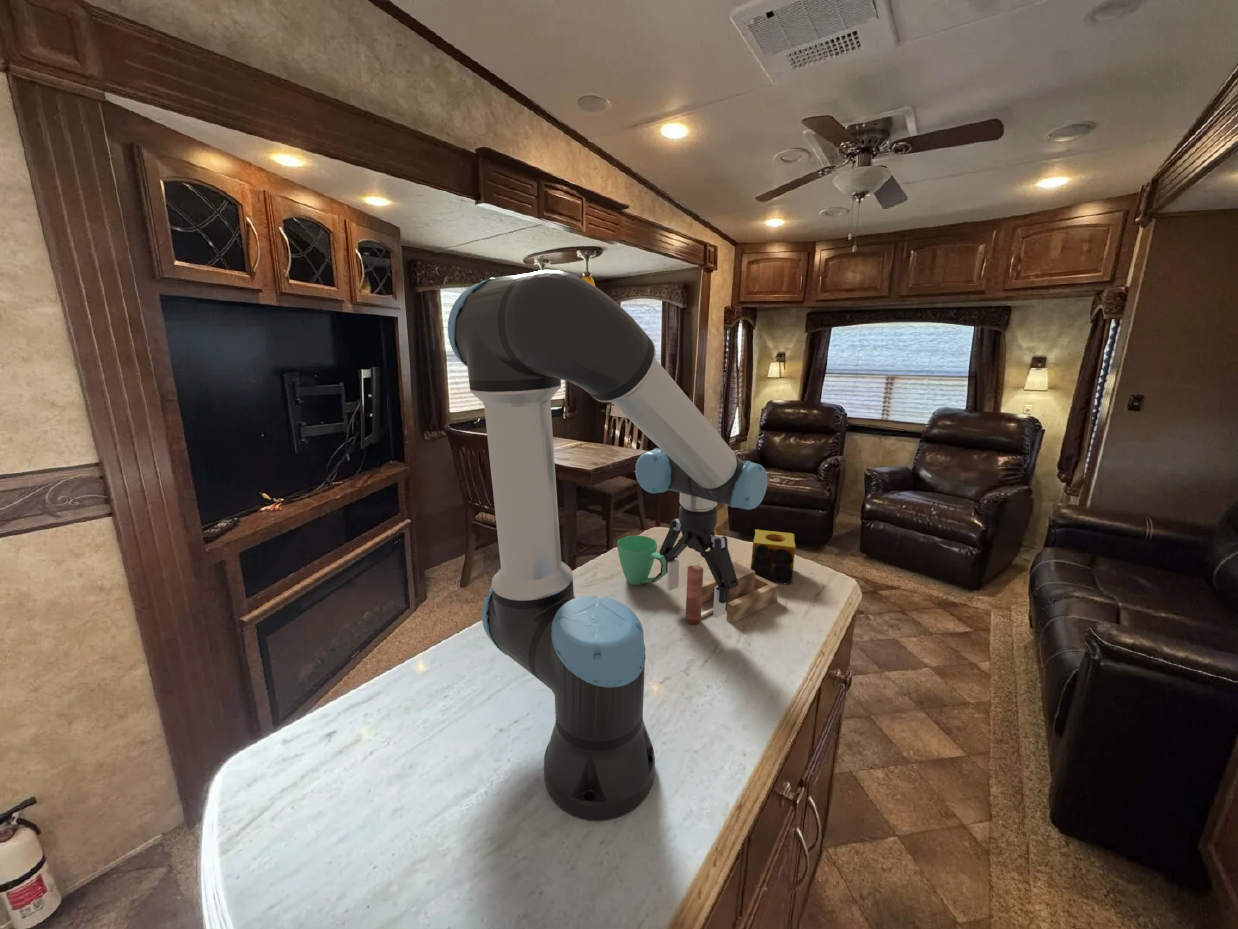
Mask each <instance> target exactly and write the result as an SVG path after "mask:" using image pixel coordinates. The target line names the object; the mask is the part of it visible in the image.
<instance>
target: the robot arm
mask: <svg viewBox="0 0 1238 929" xmlns="http://www.w3.org/2000/svg"><path fill="white" fill-rule="evenodd" d="M447 337H448V341H449V345H450V348H451V350H452V352H453V354H454V355H455V356H456V358H457V359H459V361H460V362H461V364H463V365H464V366H466V367H467V376H468V382H469V384H468V385H469V392H470V393H471V394H472V395H474V397H476V398H477V400H479V401H481V403H482V404H483V408H484V416H485V425H486V427H485V428H486V436H487V446H488V447H487V448H488V454H489V455H488V457H489V465H490V474H491V484H492V492H493V503H494V504H493V505H494V513H495V522H496V531H497V532H496V534H497V543H498V554H499V561H500V569H499V570H498V571H497V572H496V573H495V574H494V575H493V577H492V579H491V586H490V587H489V589H488V592H489V594H488V595H487V597H486V596H485V597H484V600H483V603H482V607H481V622H482V627H483V629H484V632H485V635H486V636H487V637H488V638H489V640H491V642H492V644H494V646H496V648H497V649H498V650H499V651H500V652H502V653H503V654H504V655H506V656H508V657H509V658H510V659H512V660H513V661H514V662H516V663H517V664H518V665H519V666H520V667H522V668H523V669H524V670H526V671H528V673H529V674H531V675H532V676H533V677H535V678H536V679H537V680H539V681H540V682H541V683H542V684H543V685H544V686H546V687H547V688H549V690H551V691H552V693H553V696H554V711H555V712H554V713H555V724H554V725H553V730H552V731H551V732H552V733H551V736H550V738H549V741H548V744H547V746H546V749H545V752H544V757H543V758H544V759H543V778H544V785H545V788H546V791H547V793H548V795H549V796H550V798H551V800H552V801H553V802H554V803H555V804H556V805H557V806H558V807H559V808H560V809H561V810H563V811H564V812H566V813H568V814H569V815H571V816H573V817H577V818H580V819H584V820H589V821H605V820H611V819H616V818H619V817H622V816H624V815H626V814H628V813H629V812H632V811H634V810H635V809H636V808H637V807H638V806H640V805H641V803H642V802H643V801H644V800H645V799H646V798H647V796H648V795H649V793H651V792H650V791H651V789H652V787H653V785H654V784H653V783H654V780H655V774H656V773H655V769H656V764H655V763H656V756H655V751H654V747H653V744H652V741H651V739H650V736H649V733H648V730H647V728H646V724H645V722H644V715H643V714H644V691H645V688H644V687H645V669H646V668H645V667H646V666H645V665H646V664H645V663H646V657H647V654H646V646H645V645H646V644H645V638H644V635H645V634H644V630H643V626H642V623H641V621H640V618H639V617H638V616H637V614H636V613H635V612H634V611H633V610H632V609H630V607H628V606H627V605H626V604H624V603H622V602H620V601H618V600H616V599H613V598H609V597H606V596H604V597H602V598H599V597H598V596H596V595H585V596H584V595H583V596H580V597H579V596H578V597H575V591H574V581H573V580H574V577H573V575H574V574H573V571H572V569H571V567H570V566H569V565H567V564H566V563H565V562H563V561H562V554H561V541H560V540H561V537H560V523H559V510H558V508H559V507H558V494H557V480H556V478H557V477H556V466H555V464H556V462H555V449H554V448H555V447H554V435H553V434H554V433H553V432H554V431H553V420H552V419H553V418H552V406H551V405H552V404H551V403H552V402H551V401H552V399H553V397H554V396H555V395H556V394H557V392H558V391H559V390H560V389H561V388H562V381H566V382H569V383H571V384H573V385H575V386H578V387H580V388H581V389H582V390H584V391H585V392H586V393H588V394H589V395H590V396H591V397H592V398H593V399H595V400H596V401H598V402H601V403H611V404H612V405H613V406H615V408H616V409H617V410H618V411H620V412H621V413H622V414H623V415H624V417H626V418H627V419H628V420H629V421H630V422H632V424H634V426H636V427H637V428H638V430H640V431H641V432H642V433H643V434H644V435H645V436H646V437H647V438H648V439H649V440H651V441H652V443H654V444H655V445H656V446H657V447H658V448H657V447H656V448H653V449H652V450H649V451H646V452H644V453H642V454H641V455H640V456H639V457H638V458H637V460H636V463H635V478H636V480H637V482H638V484H639V485H640V487H641V488H642V489H643V490H644V491H645V492H647V493H650V494H658V493H660V494H661V493H665V492H667V491H671V492H672V491H673V492H676V493H679V504H680V506H679V508H678V509H679V511H678V512H679V513H678V514H679V515H678V518H675V519H672V520H670V521H669V527H668V528H669V529H668V531H667V534H666V536H665V538H664V541H663V543H662V544H661V546H660V549H659V551H658V553H660V555H661V556H662V555H663V556H664V557H665V560H666V573H667V574H666V576H667V577H666V579H667V580H666V583H667V584H666V589H667V590H668V591H669V592H670V591H672V590H674V589H675V590H676V589H677V588H679V578H680V576H679V574H680V560H679V559H678V558H679V555H681V553H682V552H683V551H685V549H686V548H688V549H691V550H693V551H695V552H697V553H699V554H700V556H701V557H702V558H703V559H704V560H705V562H706V565H707V567H708V568H709V570H710V573H711V575H712V577H713V578H714V579H715V581H716V583H717V585H718V586H715V587H714V598H713V607H712V608H713V613H712V618H715V619H717V618H720V617H721V616H724V615H725V614H726V608H727V607H726V602H728V599H729V589H732V588H734V587H736V586H738V580H737V577H736V574H735V571H734V567H733V564H732V563H733V561H732V557H731V554H730V552H729V549H728V548H729V547H728V537H727V536H726V535H723V536H721V537H720V536H717V535H716V534H715V528H716V525H717V523H718V522H717V521H718V508H717V505H718V504H722V505H726V506H729V507H731V508H733V509H734V508H738V509H743V510H747V511H748V510H753V509H756V508H757V507H759V505H761V503H762V501H763V499H764V497H765V495H766V493H767V492H766V491H767V489H768V488H767V487H768V480H769V479H768V474H767V470H766V469H765V467H763V465H762V464H759V463H756V462H752V461H750V460H742V459H741V458H739V457H738V455H737V454H736V453H735V451H733V450H732V448H731V447H730V446H729V445H728V444H727V442H726V441H725V440H724V439H723V437H722V436H721V435H720V432H719V431H718V430H716V429H715V428H714V427H713V426H712V424H711V423H710V422H709V420H707V419H706V417H705V416H704V415H703V414H702V413H701V411H700V410H699V408H698V407H697V406H696V405H695V404H694V403H693V401H692V400H691V399H690V398H689V397H688V395H686V393H685V392H684V391H683V390H682V389H681V387H680V386H679V385H678V383H677V382H675V380H674V379H673V378H672V377H671V375H670V374H669V372H667V371H666V369H665V368H664V367H663V366H662V364H661V363H660V362H659V361H658V360H657V359H656V354H657V353H656V351H657V350H656V346H655V344H654V342H653V340H652V339H651V338H650V337H649V335H648V334H647V333H646V332H645V330H644V329H643V328H642V327H641V326H640V324H638V322H637V321H636V320H635V319H634V317H632V316H631V315H630V314H629V313H628V312H627V311H626V310H625V309H624V308H623V307H621V306H620V305H619V303H617V302H616V301H615V300H614V299H612V297H610V296H609V295H608V294H606V292H604V291H602V290H601V289H600V288H598V287H596V286H595V285H594V284H592V283H590V282H589V281H587V280H585V279H583V278H582V277H579V276H577V275H575V274H574V273H573V274H572V273H569V272H566V271H562V270H556V269H554V270H553V269H544V270H542V269H541V270H538V271H533V272H528V273H521V274H516V275H506V276H499V277H490V278H488V279H486V280H483V281H480V282H479V283H475V284H474V285H471V286H470V287H468V288H466V289H465V290H464V291H462V292H461V293H460V295H459V297H457V299H456V300H455V301H454V302H453V305H452V307H451V309H450V311H449V316H448V321H447ZM680 534H682V536H681V537H680V538H679V536H680ZM678 538H679V539H678ZM677 539H678V540H677ZM722 580H723V582H722Z"/></svg>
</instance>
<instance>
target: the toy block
mask: <svg viewBox="0 0 1238 929" xmlns="http://www.w3.org/2000/svg"><path fill="white" fill-rule="evenodd" d="M754 533H755V534H754V537H753V541H752V550H751V551H752V553H751V561H750V562H751V564H750V569H751V570H753V571H755V575H757V576H760V577H762V578H764V579H766V580H768V581H771V582H773V583H775V584H778V583H779V584H784V583H786V585H792V584H793V577H794V576H793V575H794V564H795V552H796V543H795V542H796V541H795V534H794V533H792V532H782V531H775V530H773V531H771V530H766V529H765V530H763V529H754Z"/></svg>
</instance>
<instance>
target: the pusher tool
mask: <svg viewBox="0 0 1238 929" xmlns="http://www.w3.org/2000/svg"><path fill="white" fill-rule="evenodd" d="M732 564H733V567H734V571H735V574H736V577H737V580H738V586H736V587H734V588H732V589H729V599H728V602H726V607H725V608H727V604H728V603H729V602H731V601H733V600H735V599H738V598H740V597H742V596H744V595H746V594H749V593H751V592H753V591H754V582H755V571H753V570H751V568H748V567H747V566H745V565H742V564H740V563H737V562H735V561H732ZM686 575H687V576H686V578H687V579H686V596H685V597H686V598H685V599H686V601H685V622H686V623H687V624H688V625H692V626H697V625H700V624H701V621H702V620H701V619H703V618H705V617H708V616H710V615H711V614H712V615H713V607H711V608H709V609H707V610H705V611H703V612H702V604H703V603H702V585H703V580H704V568H703V567H702V566H700V565H695V564H694V565H693V564H692V565H689V566H687V574H686ZM722 582H723V580H722ZM716 586H718V585H717V583H716Z"/></svg>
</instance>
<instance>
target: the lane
mask: <svg viewBox="0 0 1238 929" xmlns="http://www.w3.org/2000/svg"><path fill="white" fill-rule="evenodd" d="M715 586H716V581H715V579H714V577H713V578H711V579H709V580H706V581H704V582H703V585H702V604H703V603H705V602H707V601H711V600H714V587H715ZM778 595H779V584H778V583H775V582H771V581H768V580H766V579H764V578H762V577H760V576H757V575H755V582H754V591H753V592H751V593H749V594H746V595H744V596H742V597H740V598H738V599H735V600H733V601H731V602H729V603H728V604H727V607H726V621H728V622H730V623H731V624H734V623H735V622H737V621H740V620H742V619H743V618H746V617H747V616H750V615H751V614H753V613H756V612H757V611H759V610H762V609H764V608H766V607H768V606H770V605H772V604H774V603H776V602H778Z"/></svg>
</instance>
